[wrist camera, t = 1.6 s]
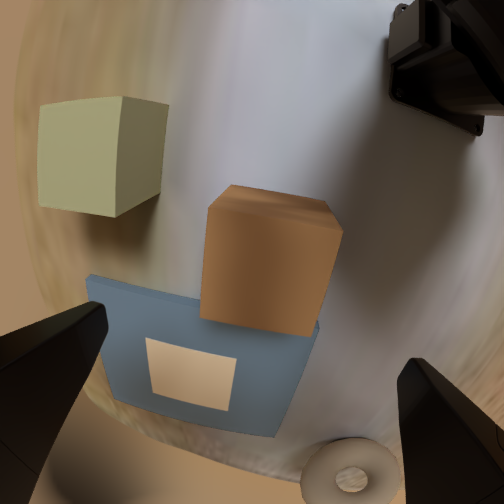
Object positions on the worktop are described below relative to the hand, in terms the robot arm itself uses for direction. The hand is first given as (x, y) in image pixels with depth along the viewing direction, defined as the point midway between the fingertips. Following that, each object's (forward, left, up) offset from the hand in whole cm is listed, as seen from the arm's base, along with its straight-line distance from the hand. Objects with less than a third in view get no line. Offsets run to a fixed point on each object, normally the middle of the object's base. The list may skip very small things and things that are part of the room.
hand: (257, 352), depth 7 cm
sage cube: (+9, -4, -9) cm, 14 cm away
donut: (-12, +20, -9) cm, 25 cm away
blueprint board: (+4, +12, -9) cm, 16 cm away
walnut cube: (0, 0, -9) cm, 9 cm away
